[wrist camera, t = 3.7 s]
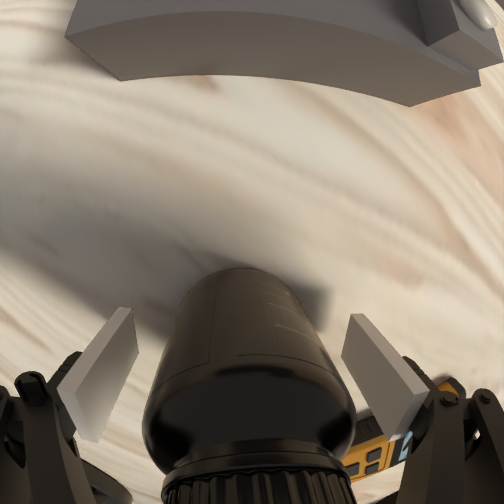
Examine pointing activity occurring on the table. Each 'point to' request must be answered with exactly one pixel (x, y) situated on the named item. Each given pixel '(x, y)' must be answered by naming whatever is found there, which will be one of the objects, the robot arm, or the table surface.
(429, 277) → the table surface
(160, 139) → the table surface
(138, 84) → the table surface
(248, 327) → the supplement bottle
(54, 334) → the table surface
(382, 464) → the electronic device
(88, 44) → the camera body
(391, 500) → the t-shaped wooden sculpture
